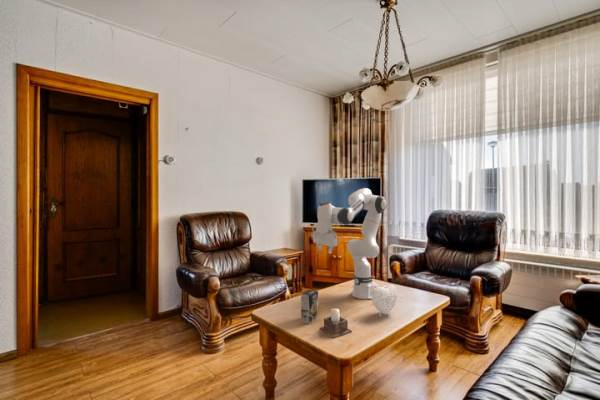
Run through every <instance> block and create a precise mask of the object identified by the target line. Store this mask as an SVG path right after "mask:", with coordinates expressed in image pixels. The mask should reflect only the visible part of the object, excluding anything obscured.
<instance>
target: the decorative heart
mask: <svg viewBox="0 0 600 400" xmlns="http://www.w3.org/2000/svg"><path fill="white" fill-rule="evenodd" d="M376 291H377V292H376ZM378 291H379V292H378ZM377 293H378V295H376V294H377ZM381 294H383V295H381ZM374 298H375V299H374ZM397 299H398V291H397V288H396V287H395V286H394V285H392V284H386V285H384V286H379V287H377V288H375V289H374V290H373V292H372V300H371V301H372V303H373V304H372V305H373V306H374V307H375V309H376V310H377V311H378V312H379V313H380V316H382V314H383V315H384V316H386V315H388V314H389V313H391V311H392V310H393V309H394V307H395V305H396V303H397Z"/></svg>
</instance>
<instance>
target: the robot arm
mask: <svg viewBox="0 0 600 400" xmlns="http://www.w3.org/2000/svg"><path fill="white" fill-rule="evenodd" d="M347 202H348V205H349V206H350V207H336V206H334V205H332V203H331V202H330V201H327V202H324V201H323V202H321V203H319V204H318V207H317V214H316V215H317V217H316V218H317V225H316V226H314V227H312V241H313V243H314V244H316V246H317V250H318V251H319V252H321V251H322V250H323V248H322V246H327V247H328V250H327V254H331V255H332V253H333V249H334V248H335V247H337V246H338V245H339V243H338V242H339V241H338V236H337V232H336V231H335V230H333V223H334V224H342V225H345V226H346V225H350V224H351V223H352V222H353V220H354V219H355V217H356V216H357V215H358V214H359V213H360V212H361V211H362V210H364V211H365V210H366V211H367V213H366V215H365V217H364V220H363V222H362V226H361V228H360V232H361V234H362V235H363V238H362V240H361V239H359V238H358V239H350V240H349V241H348V242H347V246H346V247H347V251H348V252H349V253H350V255H351V257H352V261H353V264H354V275H353V280H354V282H353V287H352V288H353V289H352V294H351V296H353V297H354V298H357V299H362V300H371V301H372V292H373V290H374V289H375V288H377V287H380V286H379V285H378V284H377V283H376V282H374V280H375V278H376V276H375V275H371V274H372V273H371V272H372V269H371V268H372V267H371V263H370V262H369V261H368V259H373V258H374V259H375V258H376V257H378V255H379V254H380V247H379V245H378V242H377V234H378V230H379V226H380V224H381V220H382V213H383V212H385V210H386V208H387V205H388V202H387V199H386V197H385V196H382V195H375V194H373V193H372V190H371V189H369V188H367V187H363V188H360V189H357V190H356V191H354V192H353V193H351V194H350V195H349V196H348V198H347ZM367 258H368V259H367ZM376 292H377V291H376ZM378 292H379V291H378ZM376 295H378V293H377V294H376ZM381 295H384V294H381ZM374 299H375V298H374Z"/></svg>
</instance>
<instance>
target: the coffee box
mask: <svg viewBox="0 0 600 400" xmlns="http://www.w3.org/2000/svg"><path fill="white" fill-rule="evenodd" d="M300 295H301V296H300V298H301V302H300V322H302V323H305V324H308V325H311V324H312V323H314V322H315V321H317V319H318V318H319V291H318V290H313V289H307V290H305V291H303V292H302V293H301V294H300ZM318 320H319V319H318Z"/></svg>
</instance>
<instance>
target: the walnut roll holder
mask: <svg viewBox="0 0 600 400" xmlns="http://www.w3.org/2000/svg"><path fill="white" fill-rule="evenodd" d="M319 330H320V331H322V332H323V333H325V334H327V335H328V336H330V337H331V338H332V339H336V338H340V337H342V336H345V335H348V334H351V333H353V332H352V329H349V328H348V319H346V318H344V317H342V316H340V322H337V323H333V322H331V315H330V316H327V317H325V318H323V326H320V327H319Z"/></svg>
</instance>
